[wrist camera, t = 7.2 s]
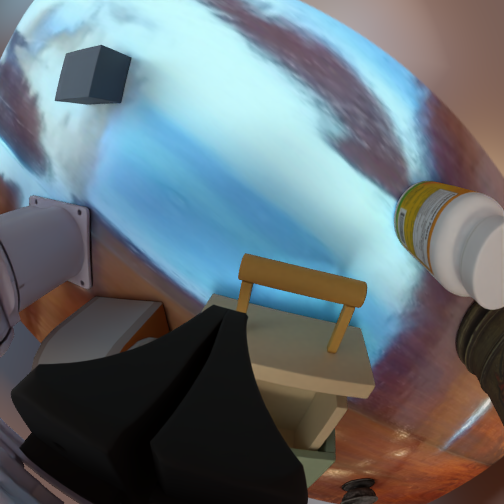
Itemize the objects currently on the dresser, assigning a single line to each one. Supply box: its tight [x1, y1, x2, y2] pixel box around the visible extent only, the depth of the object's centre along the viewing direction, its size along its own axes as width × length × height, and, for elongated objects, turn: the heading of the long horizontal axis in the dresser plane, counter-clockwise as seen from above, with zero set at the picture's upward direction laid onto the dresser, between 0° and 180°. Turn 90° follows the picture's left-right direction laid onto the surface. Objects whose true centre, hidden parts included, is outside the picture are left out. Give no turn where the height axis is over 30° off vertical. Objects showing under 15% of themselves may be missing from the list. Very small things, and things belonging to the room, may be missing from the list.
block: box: [55, 45, 131, 105], centre depth 16 cm, size 4×4×4 cm
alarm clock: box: [31, 297, 169, 371], centre depth 19 cm, size 15×8×14 cm, turn 5°
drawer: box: [201, 253, 375, 451], centre depth 19 cm, size 18×11×6 cm, turn 169°
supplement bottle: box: [394, 181, 504, 310], centre depth 12 cm, size 5×5×10 cm
